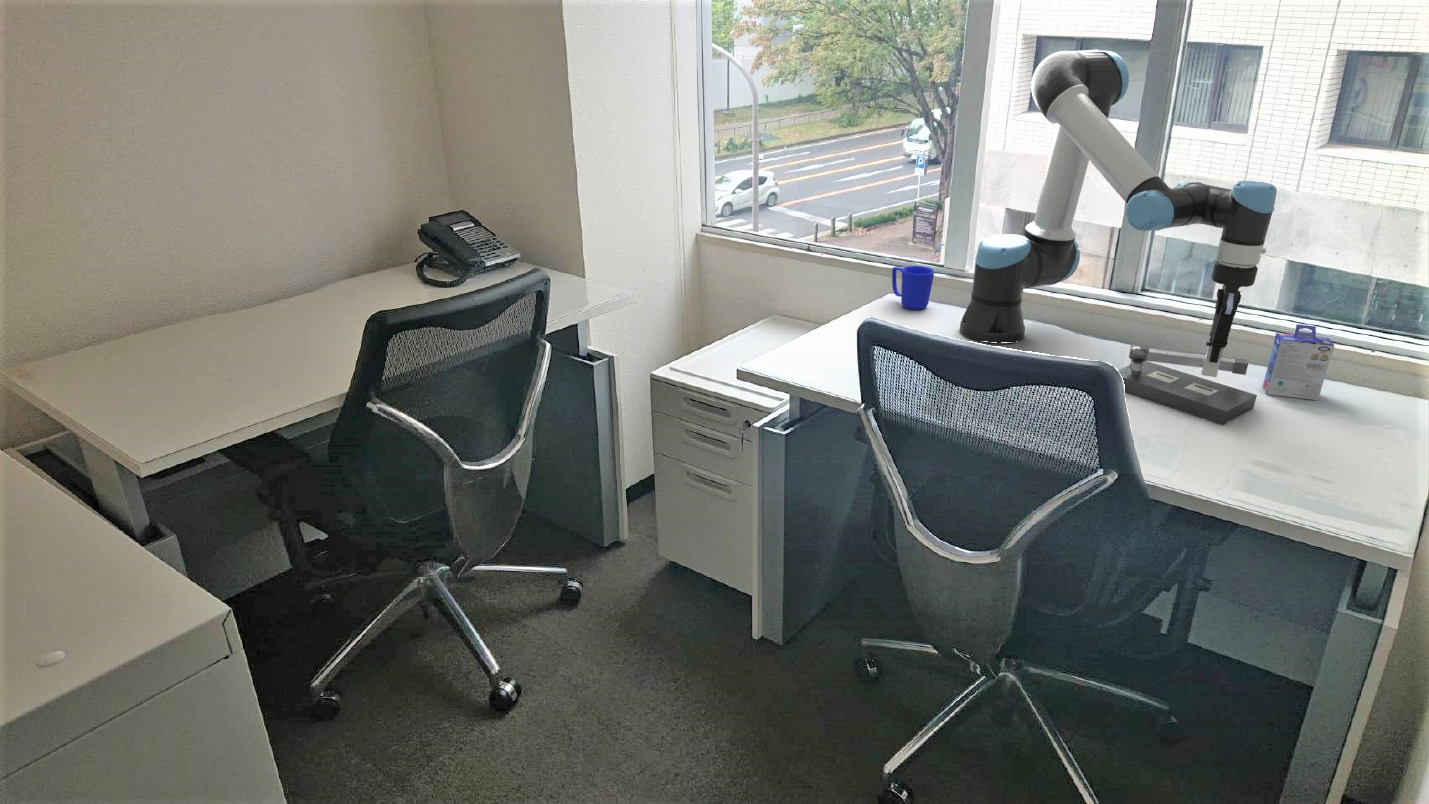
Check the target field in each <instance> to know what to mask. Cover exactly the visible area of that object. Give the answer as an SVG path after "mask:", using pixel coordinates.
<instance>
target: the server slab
mask: <svg viewBox="0 0 1429 804" xmlns="http://www.w3.org/2000/svg"><path fill="white" fill-rule="evenodd" d="M1118 370H1119V372H1120V374H1121V376H1122V377H1123V380H1124V384H1125V392H1124V393H1126V394H1130V395H1133V396H1135V397H1137V398H1141V399H1144V400H1147V401H1151V402H1152V403H1156V404H1159V405H1161V406H1165V407H1167V408H1170V409H1173V410H1176V411H1179V412H1182V413H1186V414H1188V415H1190V416H1194V417H1198V418H1200V419H1203V420H1206V421H1209V422H1211V423H1214V424H1218V425H1221V426H1225V425H1226V424H1228V423H1230V422H1231V421H1232V422H1233V421H1234V420H1235V419H1238V418H1239V417H1240V416H1243V415H1244V414H1246V413H1248V412H1250V411H1252V410H1254V408H1255V405H1256V400H1257V396H1258V395H1257V394H1255V393H1252V392H1248V391H1245V390H1241V389H1239V388H1235V387H1231V386H1230V385H1226V384H1223V383H1219V382H1216V381H1213V380H1209V379H1206V378H1203V377H1200V376H1197V375H1194V374H1190V373H1187V372H1183V371H1181V370H1177V369H1174V368H1172V367H1171V368H1170V367H1167V366H1164V365H1161V364H1158V363H1156V362H1152V361H1136V360H1132V359H1130V364H1128V365H1126V366H1124V367H1121V368H1120V369H1118Z"/></svg>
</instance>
